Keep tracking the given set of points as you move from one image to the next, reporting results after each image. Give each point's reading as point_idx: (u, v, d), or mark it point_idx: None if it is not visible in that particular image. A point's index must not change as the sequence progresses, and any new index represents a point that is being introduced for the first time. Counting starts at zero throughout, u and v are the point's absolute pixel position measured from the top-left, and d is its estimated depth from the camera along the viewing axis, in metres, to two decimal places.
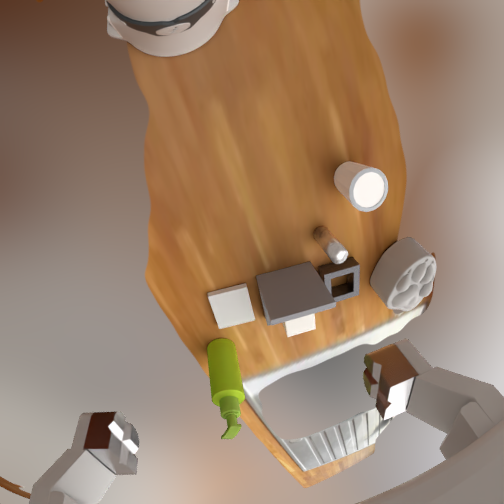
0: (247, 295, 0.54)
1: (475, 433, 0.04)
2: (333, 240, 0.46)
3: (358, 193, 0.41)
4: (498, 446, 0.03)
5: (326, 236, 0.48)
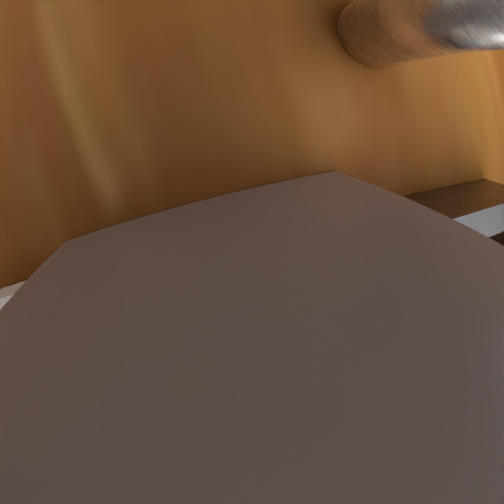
0: None
1: None
2: None
3: None
4: None
5: None
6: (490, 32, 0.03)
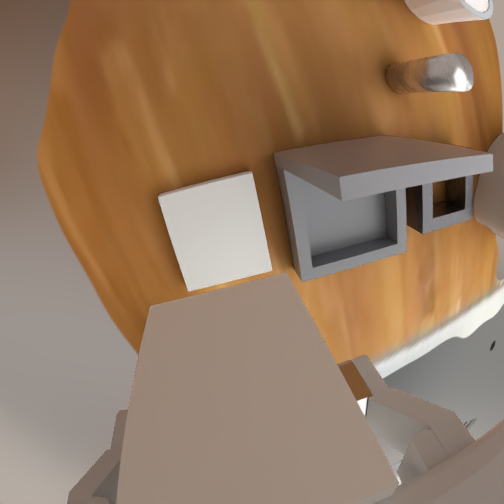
0: (254, 199, 0.22)
1: (425, 464, 0.04)
2: (435, 56, 0.15)
3: None
4: (498, 446, 0.03)
5: (416, 59, 0.17)
6: (439, 88, 0.16)
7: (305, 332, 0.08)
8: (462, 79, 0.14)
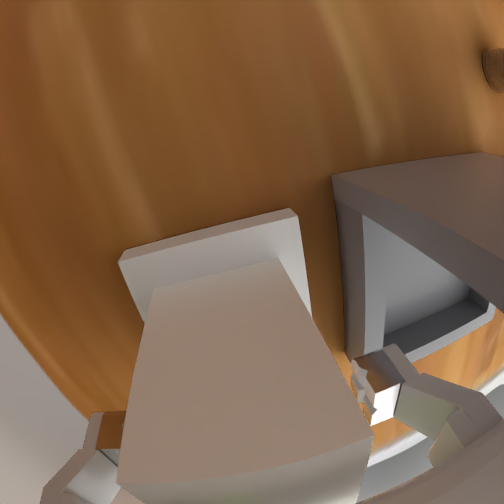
0: (298, 263, 0.12)
1: (461, 443, 0.04)
2: None
3: None
4: (498, 446, 0.03)
5: None
6: None
7: (293, 307, 0.09)
8: None
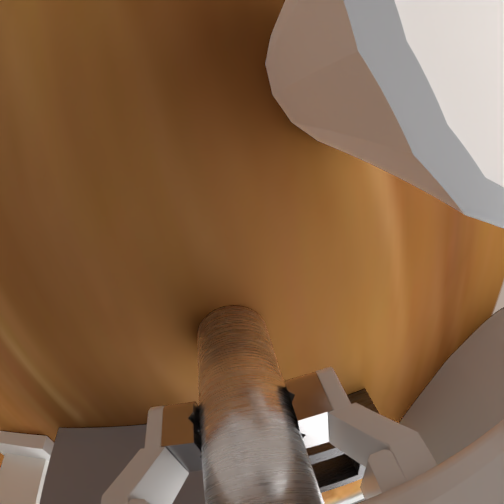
0: None
1: (380, 486, 0.04)
2: (246, 422, 0.07)
3: (442, 22, 0.02)
4: (498, 446, 0.03)
5: (221, 376, 0.08)
6: None
7: (33, 495, 0.10)
8: None
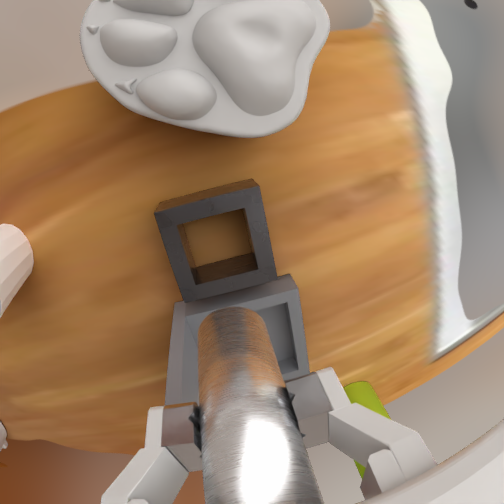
0: None
1: (380, 486, 0.04)
2: (246, 423, 0.06)
3: None
4: (498, 446, 0.03)
5: (221, 377, 0.08)
6: None
7: None
8: None
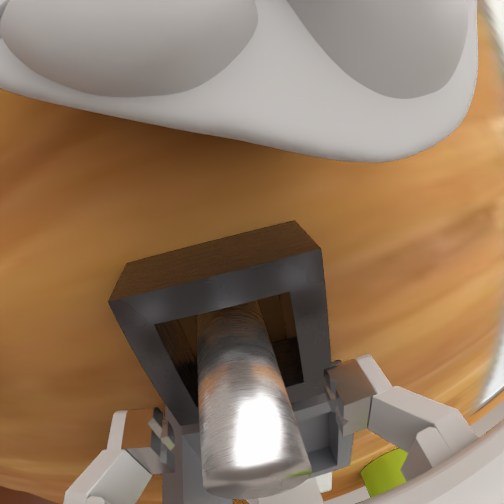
0: None
1: (430, 462, 0.04)
2: (238, 381, 0.08)
3: None
4: (498, 446, 0.03)
5: (217, 345, 0.10)
6: None
7: None
8: (260, 488, 0.06)
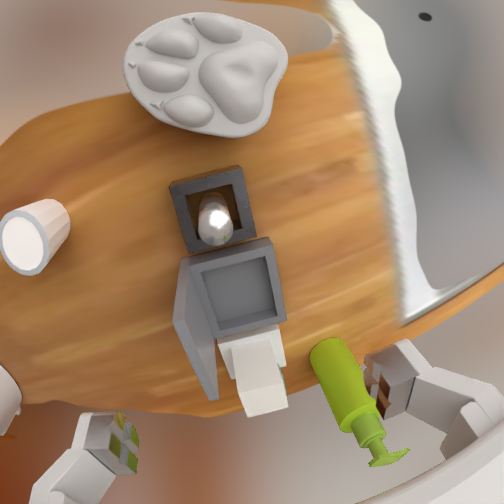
0: (233, 342, 0.37)
1: (475, 433, 0.04)
2: (212, 204, 0.26)
3: (30, 260, 0.24)
4: (498, 446, 0.03)
5: (206, 201, 0.28)
6: None
7: (234, 366, 0.35)
8: (217, 235, 0.24)
